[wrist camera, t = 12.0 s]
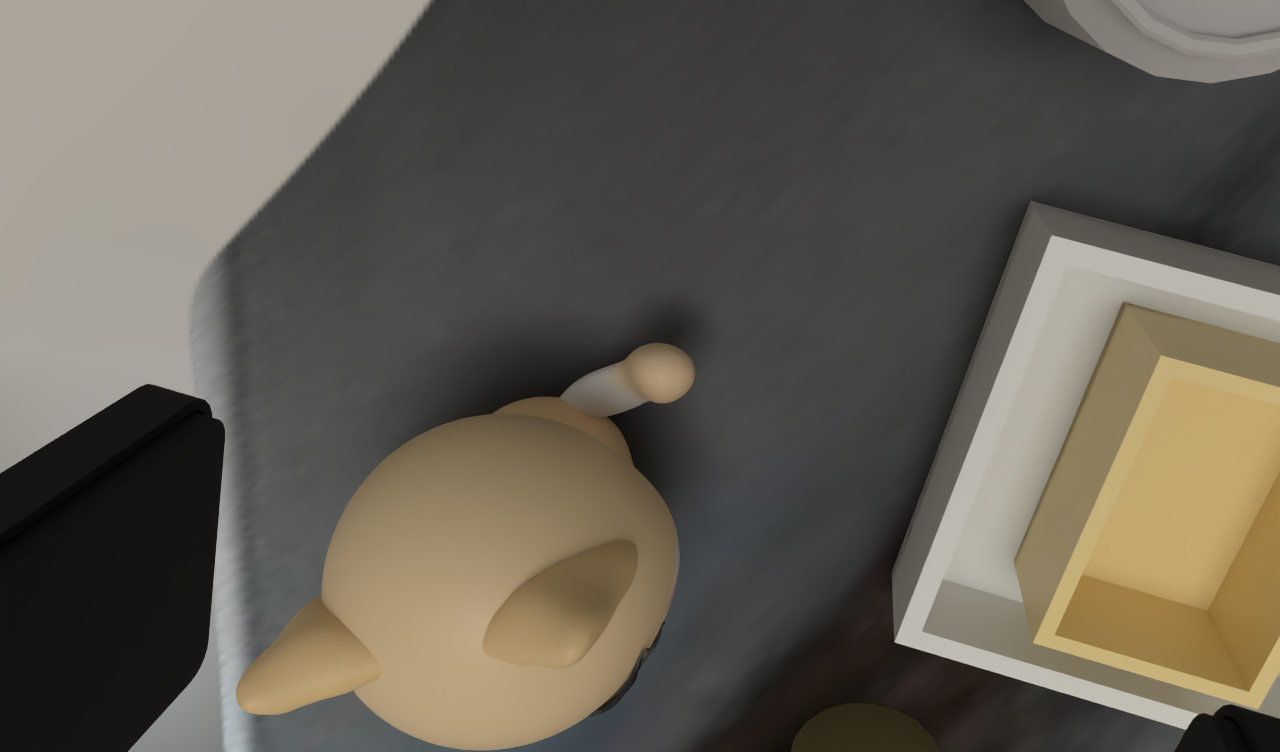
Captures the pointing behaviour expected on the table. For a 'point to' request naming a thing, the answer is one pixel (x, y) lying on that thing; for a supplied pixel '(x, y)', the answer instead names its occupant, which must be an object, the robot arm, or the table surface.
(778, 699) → the table surface
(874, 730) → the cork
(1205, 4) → the can
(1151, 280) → the large crate
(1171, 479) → the small crate
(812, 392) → the table surface
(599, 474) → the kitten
